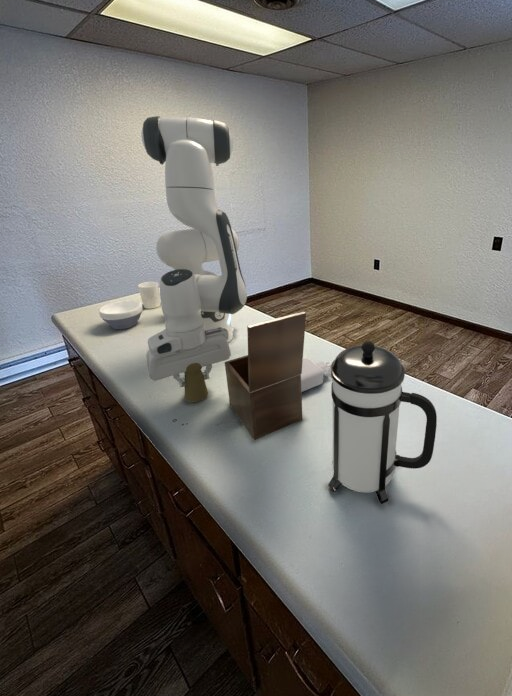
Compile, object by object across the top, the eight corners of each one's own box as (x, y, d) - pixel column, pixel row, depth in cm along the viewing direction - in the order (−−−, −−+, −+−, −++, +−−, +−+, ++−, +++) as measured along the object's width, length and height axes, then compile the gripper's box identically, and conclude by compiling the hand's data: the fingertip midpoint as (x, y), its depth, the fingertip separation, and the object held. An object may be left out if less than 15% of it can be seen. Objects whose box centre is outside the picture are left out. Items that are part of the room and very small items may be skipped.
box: (229, 404, 93) (224, 361, 88) (273, 388, 100) (270, 347, 95) (254, 440, 81) (249, 393, 76) (302, 419, 88) (300, 374, 83)
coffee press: (348, 526, 62) (352, 377, 51) (314, 460, 75) (311, 331, 64) (430, 491, 68) (449, 352, 57) (384, 437, 82) (393, 316, 71)
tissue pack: (340, 378, 104) (295, 396, 96) (321, 364, 111) (279, 380, 103) (340, 363, 103) (295, 381, 94) (321, 351, 110) (278, 366, 101)
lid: (247, 325, 68) (248, 327, 68) (304, 311, 75) (306, 313, 74) (248, 390, 76) (250, 392, 76) (299, 371, 83) (301, 374, 82)
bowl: (133, 314, 149) (129, 297, 146) (152, 322, 141) (149, 304, 139) (96, 326, 138) (91, 308, 136) (115, 336, 130) (110, 317, 128)
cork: (202, 385, 100) (196, 351, 96) (212, 395, 96) (207, 359, 92) (180, 394, 96) (174, 359, 92) (190, 405, 92) (184, 368, 88)
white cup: (138, 308, 155) (133, 286, 151) (149, 302, 162) (145, 281, 159) (155, 309, 154) (150, 287, 150) (165, 303, 161) (161, 281, 157)
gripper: (223, 321, 97) (228, 365, 103) (140, 340, 87) (151, 388, 92) (231, 329, 92) (236, 375, 98) (144, 351, 82) (155, 401, 87)
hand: (194, 382), depth 95 cm, fingers closed on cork, 4 cm apart
